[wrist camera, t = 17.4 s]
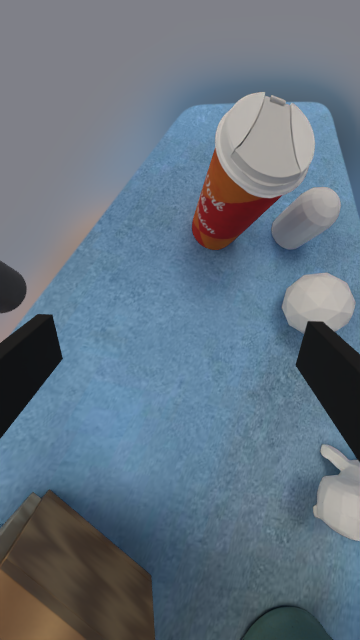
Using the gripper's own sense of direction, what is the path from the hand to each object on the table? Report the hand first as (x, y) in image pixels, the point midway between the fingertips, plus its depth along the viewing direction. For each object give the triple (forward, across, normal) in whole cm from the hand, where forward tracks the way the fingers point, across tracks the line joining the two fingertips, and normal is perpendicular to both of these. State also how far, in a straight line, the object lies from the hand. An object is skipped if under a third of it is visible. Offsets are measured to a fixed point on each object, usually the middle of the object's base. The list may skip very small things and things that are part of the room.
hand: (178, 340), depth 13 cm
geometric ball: (+20, +16, -7) cm, 27 cm away
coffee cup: (+24, +4, +3) cm, 25 cm away
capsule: (+26, +15, +3) cm, 31 cm away
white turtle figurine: (+9, +20, -26) cm, 34 cm away
